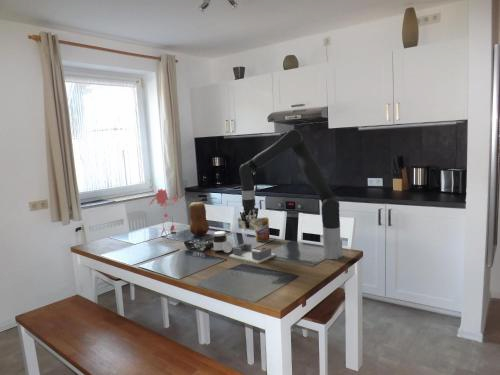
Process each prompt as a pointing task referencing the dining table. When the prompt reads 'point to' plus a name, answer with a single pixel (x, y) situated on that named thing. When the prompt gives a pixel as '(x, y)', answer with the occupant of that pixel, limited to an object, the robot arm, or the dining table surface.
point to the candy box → (263, 230)
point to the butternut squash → (198, 219)
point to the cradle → (251, 253)
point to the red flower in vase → (162, 198)
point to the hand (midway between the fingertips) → (250, 227)
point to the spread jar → (221, 242)
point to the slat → (251, 224)
